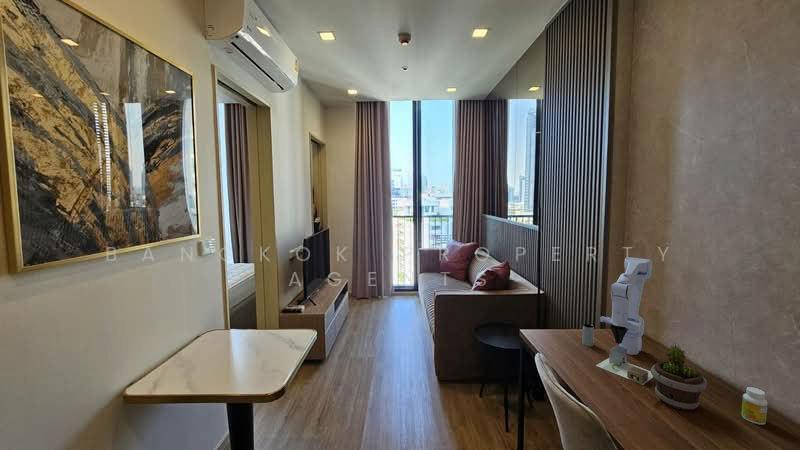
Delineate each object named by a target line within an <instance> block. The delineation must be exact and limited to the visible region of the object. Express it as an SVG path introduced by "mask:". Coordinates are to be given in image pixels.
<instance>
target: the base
mask: <svg viewBox="0 0 800 450" xmlns="http://www.w3.org/2000/svg"><path fill="white" fill-rule="evenodd" d="M633 366H634V367H637V368H640V369H642V370H645V371H648V379H647V380H646V381H645V382H643V383H640V382H639V379H638V381H634V380H633V377H632V378H628V377H627V372H628V369H630V368H631V367H633ZM595 367H598V368H600V369H602V370H606V371H608V372H610V373H612V374H615V375H618V376H619V377H620V376H621V377H623V378H625V379H628V380H629V381H632V382H635V383H637V384H639V385H642V386H644V385H645V384H646V383H648V382H649V381H650V380H652V379H653V378H654V377H653V376H652V374H651V370H648V369H645V368H642V367H640V366H637V365H635V364H631V363H629V362H627V361H626V363H622V364H621V366H620V367H619V366H617V365H614V363H609V357H608V358H606V359H604V360H603V361H601V362H599V363H597V364H596V365H595Z"/></svg>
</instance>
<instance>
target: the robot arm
mask: <svg viewBox="0 0 800 450" xmlns="http://www.w3.org/2000/svg"><path fill="white" fill-rule="evenodd" d="M623 267H624V270H625V272H624V273H623V272H622V273H621V274H620V275H619V276H618V279H617V280H616V282H614V283H612V284H610V299H611V306H612V307H611V317H608V316H600V317H599V318H600V319H599V322H601V323H606V324H610V326H609V329H610V330H611V332H612V334H613V337H614V340H615V343H616V344H618V346H620V347H623V348H626V349H627V354H628V355H630V356H631V355H632V356H633V355H634V356H635V355H638V354H639V352H641V351H642V344H643V339H642V336H643V335H644V332H645V320H644V318H643V317H641V316H640V315H639V312H640V311H639V310H640V308H641V307H640V306H641V301H642V296H643V290H644V285H645V282H646V280H650V279H651V276H652V272H653V260H652V259H651V258H650V259H649V258H648V259H647V258H638V257H631V256H627V257H625V259H624V262H623Z"/></svg>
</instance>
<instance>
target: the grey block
mask: <svg viewBox="0 0 800 450" xmlns="http://www.w3.org/2000/svg"><path fill="white" fill-rule="evenodd" d="M608 356H609V357H608V358H609V363H614V365H617V366H619V367H620V366H621V364H622V363H626V362H627V358H628V356H627V349H626V348H623V347H620V346H619V345H617V344H616V345H615V346H612V347H611V348H609V355H608Z"/></svg>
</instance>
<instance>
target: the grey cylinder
mask: <svg viewBox="0 0 800 450" xmlns="http://www.w3.org/2000/svg"><path fill="white" fill-rule="evenodd" d="M594 332H595V326H594V325H593V324H590V323H583V324H582V340H581V341H582V342H581V343H582V345H583V346H585V347H593V346H594V340H595V338H594V337H595V336H594Z"/></svg>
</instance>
